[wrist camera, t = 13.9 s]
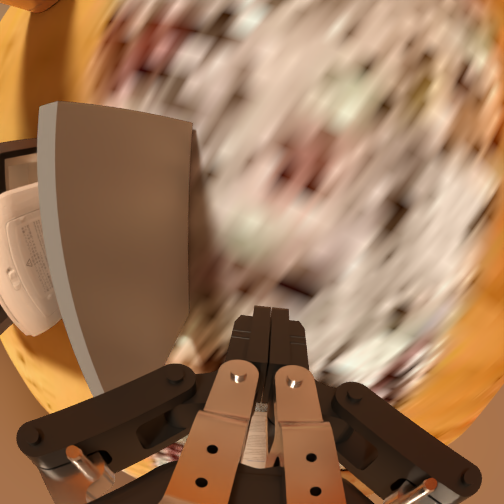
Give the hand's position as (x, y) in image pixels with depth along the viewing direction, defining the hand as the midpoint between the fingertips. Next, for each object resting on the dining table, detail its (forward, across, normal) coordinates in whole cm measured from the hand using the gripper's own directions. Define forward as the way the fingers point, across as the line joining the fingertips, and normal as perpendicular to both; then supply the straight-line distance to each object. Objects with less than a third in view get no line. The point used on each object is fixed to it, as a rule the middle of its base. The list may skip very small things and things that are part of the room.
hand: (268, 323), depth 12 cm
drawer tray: (+12, +17, 0) cm, 21 cm away
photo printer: (+11, +17, 0) cm, 20 cm away
